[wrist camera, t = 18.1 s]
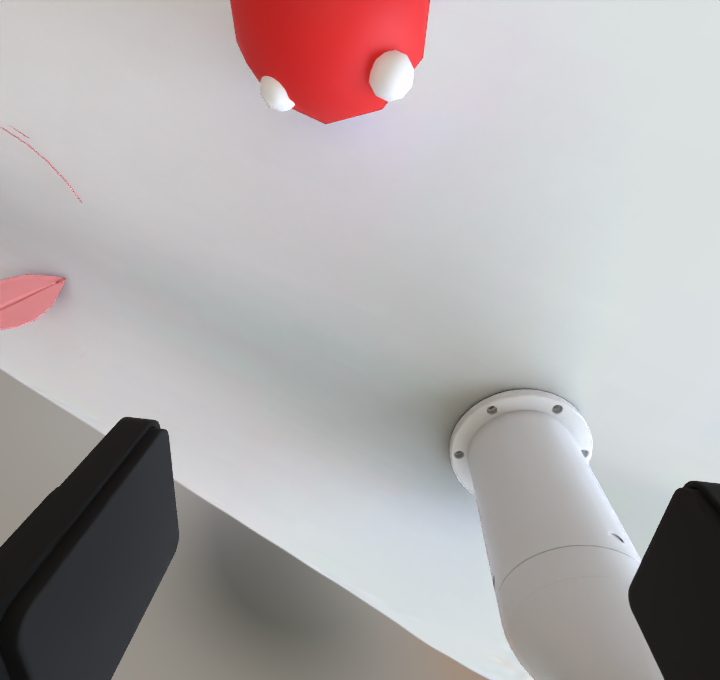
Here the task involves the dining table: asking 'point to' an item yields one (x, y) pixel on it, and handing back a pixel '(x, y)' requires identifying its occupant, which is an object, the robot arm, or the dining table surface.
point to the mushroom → (331, 52)
